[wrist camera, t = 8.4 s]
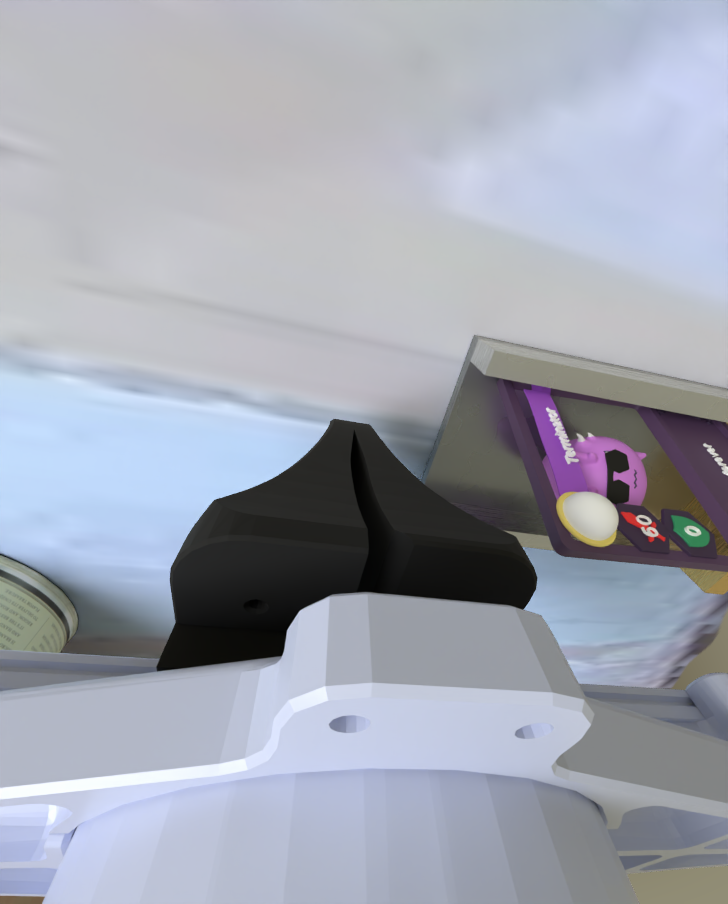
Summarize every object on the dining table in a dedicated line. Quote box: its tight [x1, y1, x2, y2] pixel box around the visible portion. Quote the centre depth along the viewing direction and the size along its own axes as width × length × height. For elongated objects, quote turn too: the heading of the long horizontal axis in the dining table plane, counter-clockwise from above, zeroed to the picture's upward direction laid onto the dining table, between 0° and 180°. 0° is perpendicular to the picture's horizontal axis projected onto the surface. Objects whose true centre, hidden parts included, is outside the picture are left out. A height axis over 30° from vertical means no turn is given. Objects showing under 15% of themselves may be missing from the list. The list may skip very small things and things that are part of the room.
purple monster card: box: [497, 378, 728, 572], centre depth 12 cm, size 7×5×9 cm
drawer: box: [421, 335, 728, 595], centre depth 14 cm, size 8×14×4 cm, turn 78°
